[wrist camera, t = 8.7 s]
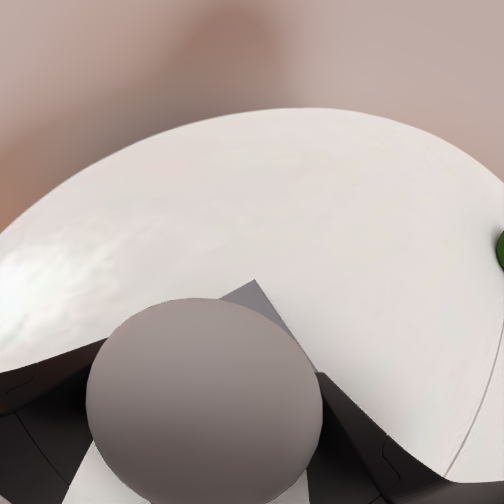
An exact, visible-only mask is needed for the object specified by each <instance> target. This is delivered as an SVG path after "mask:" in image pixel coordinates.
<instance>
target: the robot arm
mask: <svg viewBox="0 0 504 504" xmlns="http://www.w3.org/2000/svg"><path fill="white" fill-rule="evenodd" d="M108 338H109V337H108ZM108 338H105V339H102V340H100V341H97V342H94V343H91V344H89V345H86V346H83V347H80V348H77V349H75V350H72V351H69V352H66V353H63V354H60V355H58V356H55V357H52V358H49V359H46V360H43V361H40V362H38V364H37V363H34V364H31V365H28V366H25V367H21V368H18V369H15V370H10V371H6V372H2V373H0V504H62V502H63V500H64V498H65V495H66V493H67V491H68V489H69V486H70V485H71V482H72V480H73V478H74V476H75V474H76V472H77V470H78V468H79V466H80V464H81V462H82V460H83V458H84V456H85V454H86V453H87V451H88V449H89V447H90V445H91V443H92V441H93V436H92V434H91V431H90V428H89V424H88V418H87V411H86V391H87V382H88V378H89V374H90V371H91V367H92V364H93V362H94V360H95V358H96V356H97V354H98V352H99V350H100V348H101V347H102V345H103V344H104V343H105V341H106V340H107V339H108ZM314 373H315V375H316V377H317V379H318V384H319V388H320V393H321V397H322V427H321V432H320V437H319V441H318V445H317V447H316V450H315V452H314V454H313V456H312V458H311V460H310V462H309V464H308V466H307V468H306V470H307V480H308V491H309V502H310V504H504V481H496V482H481V483H458V482H453V481H449V480H447V479H445V478H443V477H442V476H440V475H439V474H437V473H436V472H434V471H433V470H431V469H430V468H428V467H427V466H426V465H424V464H423V463H421V462H420V461H419V460H417V459H416V458H415V457H413V456H412V455H411V454H409V453H408V452H407V451H405V450H404V449H403V448H402V447H401V446H400V445H399V444H397V443H396V442H395V441H394V440H393V439H392V438H391V437H390V436H389V435H387V434H386V433H385V432H384V431H383V430H382V429H381V428H380V427H379V426H378V425H377V424H376V423H375V422H374V421H373V420H372V419H371V418H370V417H369V416H368V415H367V414H365V413H364V412H363V411H362V410H361V409H360V408H359V407H358V406H357V405H356V404H355V403H354V402H353V401H352V400H351V399H350V398H349V397H348V396H347V395H346V394H345V393H344V392H343V391H342V390H341V389H340V388H339V387H338V386H337V385H336V384H335V383H334V382H333V381H332V380H331V379H330V378H329V377H328V376H327V375H326V374H325V373H323V372H314ZM386 435H387V436H386Z"/></svg>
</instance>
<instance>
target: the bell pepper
mask: <svg viewBox="0 0 504 504" xmlns="http://www.w3.org/2000/svg"><path fill="white" fill-rule="evenodd" d="M497 254H498V258H499V261H500V263H501V265H502V267H503V268H504V231H503V233H502V234H501V237H500V239H499V242H498V245H497Z"/></svg>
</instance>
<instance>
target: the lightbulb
mask: <svg viewBox="0 0 504 504" xmlns="http://www.w3.org/2000/svg"><path fill="white" fill-rule="evenodd" d="M86 411H87V418H88V424H89V428H90V431H91V434H92V436H93V439H94V442H95V445H96V447H97V449H98V450H99V452H100V454H101V455H102V457H103V459H104V460H105V462H106V464H107V465H108V466H109V468H110V469H111V470H112V471H113V472H114V473H115V474H116V476H117V477H118V478H119V479H120V480H121V481H122V482H123V483H124V484H125V485H127V486H128V487H129V488H130V489H132V490H133V491H134V492H136V493H137V494H138V495H140V496H141V497H143V498H145V499H147V500H148V501H150V502H152V503H154V504H266V503H268V502H270V501H272V500H273V499H275V498H277V497H278V496H279V495H281V494H282V493H283V492H284V491H286V490H287V489H288V488H289V487H290V486H292V485H293V484H294V483H295V482H296V480H297V479H298V478H299V477H300V475H301V474H302V473H303V471H304V470H305V469H306V468H307V466H308V464H309V462H310V460H311V458H312V456H313V454H314V452H315V450H316V447H317V445H318V441H319V437H320V432H321V427H322V397H321V393H320V388H319V384H318V379H317V377H316V375H315V373H314V371H313V368H312V366H311V364H310V362H309V360H308V358H307V357H306V355H305V354H304V353H303V351H302V350H301V348H300V347H299V346H298V344H297V343H296V341H294V340H293V339H292V338H291V337H290V336H289V335H288V334H287V333H286V332H285V331H284V330H283V329H282V328H281V327H280V326H279V325H277V324H275V323H274V322H272V321H271V320H269V319H268V318H266V317H265V316H263V315H262V314H260V313H258V312H256V311H253V310H251V309H249V308H246V307H244V306H242V305H239V304H235V303H231V302H227V301H223V300H219V299H205V298H187V299H179V300H170V301H167V302H164V303H161V304H157V305H154V306H151V307H149V308H147V309H145V310H143V311H141V312H139V313H137V314H135V315H133V316H132V317H130V318H129V319H128V320H126V321H125V322H124V323H123V324H122V325H120V326H119V327H118V328H117V329H115V330H114V332H113V333H112V334H111V335H110V336H109V338H108V339H107V340H106V341H105V343H104V344H103V345H102V347H101V348H100V350H99V352H98V354H97V356H96V358H95V360H94V362H93V364H92V367H91V371H90V374H89V378H88V382H87V391H86Z"/></svg>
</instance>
